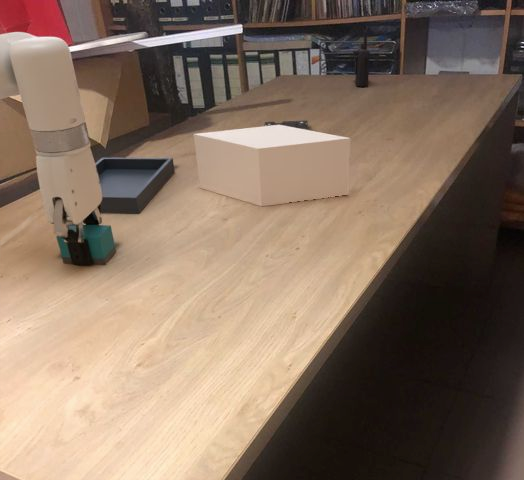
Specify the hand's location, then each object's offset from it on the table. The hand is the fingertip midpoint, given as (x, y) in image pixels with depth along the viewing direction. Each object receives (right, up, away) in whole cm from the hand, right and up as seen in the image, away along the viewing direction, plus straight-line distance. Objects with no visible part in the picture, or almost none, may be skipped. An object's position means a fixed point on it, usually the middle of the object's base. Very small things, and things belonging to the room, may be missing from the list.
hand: (89, 255), depth 93 cm
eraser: (0, 0, 0) cm, 0 cm away
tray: (-1, +16, +23) cm, 29 cm away
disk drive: (+32, +33, +44) cm, 64 cm away
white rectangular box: (+29, +15, +19) cm, 38 cm away
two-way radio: (+56, +64, +85) cm, 121 cm away
